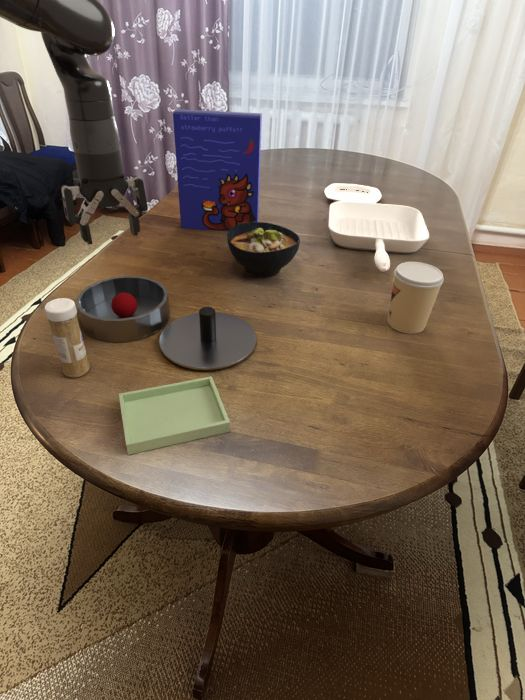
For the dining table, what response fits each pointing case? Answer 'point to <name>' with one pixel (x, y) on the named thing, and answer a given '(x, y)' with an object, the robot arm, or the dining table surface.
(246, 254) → the bowl
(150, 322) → the pot
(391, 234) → the pan
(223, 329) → the pot lid
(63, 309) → the sprinkles bottle
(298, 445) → the dining table surface
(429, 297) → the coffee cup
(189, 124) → the cereal box
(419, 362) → the dining table surface
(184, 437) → the tray
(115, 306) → the dark red ball
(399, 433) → the dining table surface
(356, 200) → the plate
